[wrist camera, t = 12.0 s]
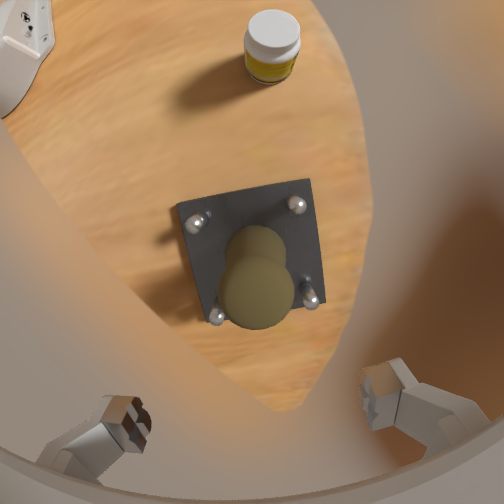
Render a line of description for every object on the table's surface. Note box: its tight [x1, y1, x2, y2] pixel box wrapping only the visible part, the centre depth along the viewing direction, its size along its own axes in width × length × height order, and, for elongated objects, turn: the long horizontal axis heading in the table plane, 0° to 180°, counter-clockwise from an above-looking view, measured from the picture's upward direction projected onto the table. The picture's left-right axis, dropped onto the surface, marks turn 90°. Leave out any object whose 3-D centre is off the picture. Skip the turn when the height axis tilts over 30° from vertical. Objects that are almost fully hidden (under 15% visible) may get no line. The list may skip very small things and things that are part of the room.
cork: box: [217, 225, 294, 330], centre depth 23 cm, size 6×6×11 cm
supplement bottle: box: [244, 9, 300, 84], centre depth 20 cm, size 5×5×8 cm
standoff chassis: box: [177, 178, 326, 326], centre depth 27 cm, size 13×13×5 cm
